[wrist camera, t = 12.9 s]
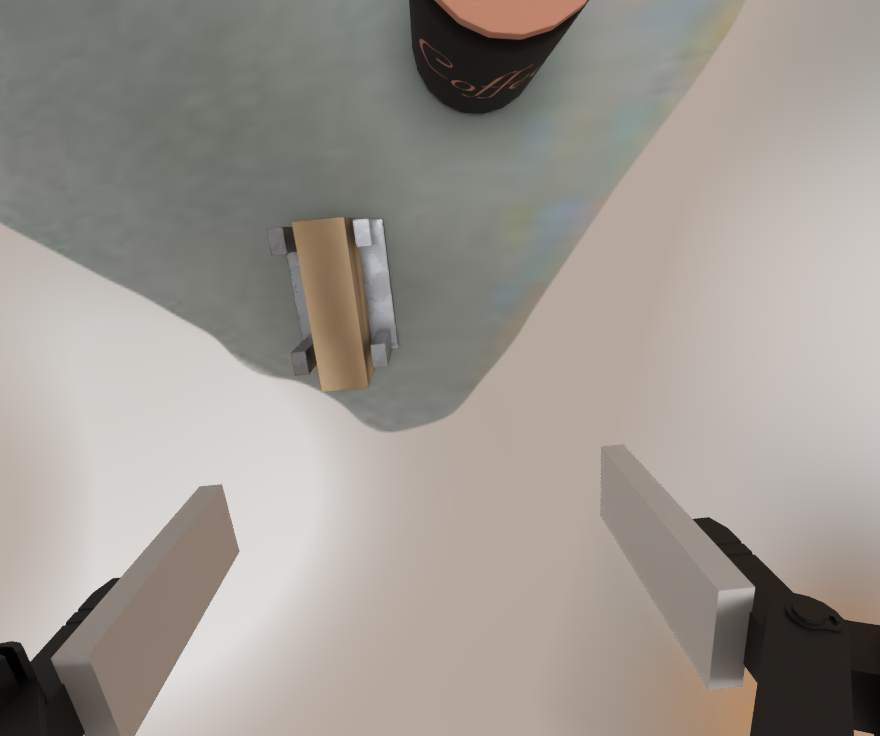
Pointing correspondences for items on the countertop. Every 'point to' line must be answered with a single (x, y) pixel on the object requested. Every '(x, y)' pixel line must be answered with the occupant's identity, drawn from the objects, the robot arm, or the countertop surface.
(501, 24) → the coffee jar
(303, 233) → the block
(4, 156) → the countertop surface
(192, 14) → the countertop surface
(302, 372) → the bracket
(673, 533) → the robot arm
